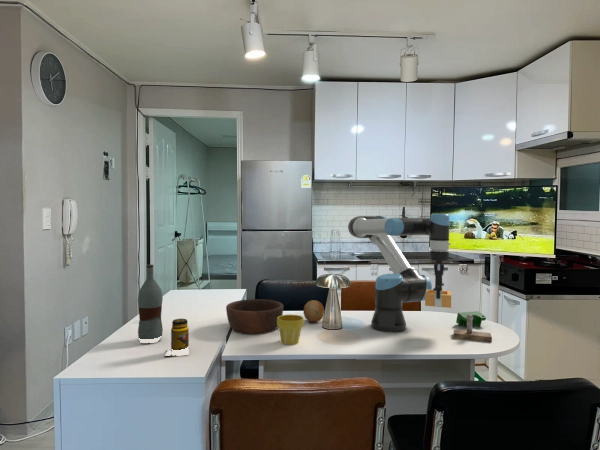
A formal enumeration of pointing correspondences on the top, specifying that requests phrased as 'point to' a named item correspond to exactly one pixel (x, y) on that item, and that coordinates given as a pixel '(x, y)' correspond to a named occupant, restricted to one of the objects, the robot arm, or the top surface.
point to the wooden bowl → (254, 315)
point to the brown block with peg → (472, 332)
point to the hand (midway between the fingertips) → (438, 303)
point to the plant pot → (290, 328)
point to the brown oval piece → (313, 311)
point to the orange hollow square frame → (431, 298)
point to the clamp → (476, 320)
